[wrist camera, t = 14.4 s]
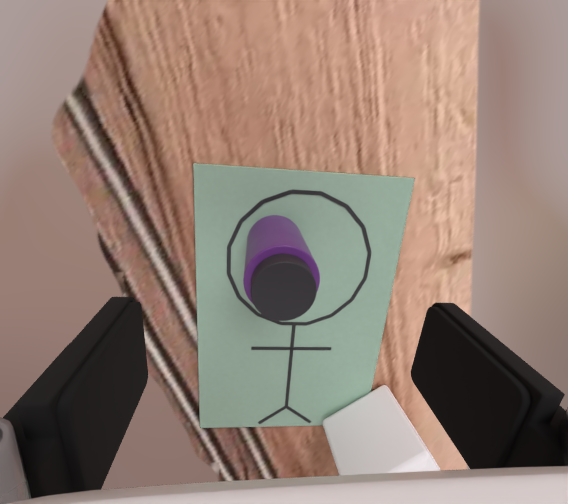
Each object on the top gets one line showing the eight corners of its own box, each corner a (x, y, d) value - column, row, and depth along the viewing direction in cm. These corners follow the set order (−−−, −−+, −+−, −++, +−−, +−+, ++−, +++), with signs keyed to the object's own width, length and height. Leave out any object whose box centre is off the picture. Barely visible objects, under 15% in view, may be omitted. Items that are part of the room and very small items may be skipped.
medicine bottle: (351, 459, 32) (416, 631, 21) (320, 419, 29) (375, 592, 18) (410, 424, 31) (510, 580, 20) (384, 381, 29) (482, 532, 18)
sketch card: (194, 162, 21) (192, 163, 21) (412, 177, 23) (415, 178, 22) (200, 424, 29) (199, 428, 29) (363, 421, 31) (364, 425, 30)
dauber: (237, 246, 23) (226, 305, 15) (266, 202, 22) (272, 237, 14) (281, 272, 24) (294, 340, 16) (310, 230, 23) (341, 280, 15)
